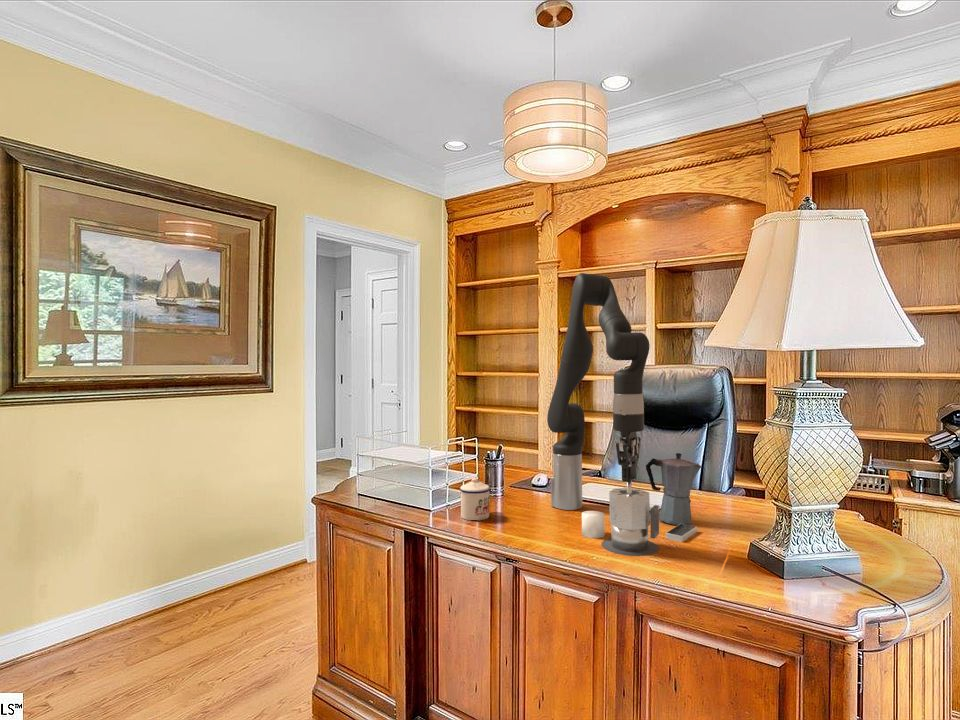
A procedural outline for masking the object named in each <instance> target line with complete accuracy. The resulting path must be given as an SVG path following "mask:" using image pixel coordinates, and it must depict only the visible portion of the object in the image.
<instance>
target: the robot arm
mask: <svg viewBox="0 0 960 720" xmlns="http://www.w3.org/2000/svg"><path fill="white" fill-rule="evenodd" d="M585 305H587V306H594V307H595V306H596V307H602V308H601V310H600V311H599V315H598V324H599V326H600V329H601V331H602V332H603V334H604V336H605V349H606V350H605V351H606V354H607V356H608V357H609V358H610V359H612V360H613V361H631V363H630V365H629V367H627V368H624V369H620V370H616V371H615V372H614V374H613V399H612V429H613V430H614V431H616V432H620V436H619V438H618V442H616V443H615V449H616V450H615V451H616V456H617V464H618V465H619V466H620V467H621V481H622V482H624V483H627V482H630V481H631V480H633V479H632V476H631V466H632V461H631V460H632V458H633V457H637V458H638V461H639V459H640V451H641V450H640V448H641V437H640V436H638V433H639V432H643V431H644V429H645V410H644V408H645V404H644V397H643V396H644V395H643V387H644V386H643V379H644V372H645V367H646V363H647V359H648V356H649V352H650V348H651V347H650V345H651V344H650V340H649V338H648V336H647V335H646V334H644V333H643V332H632V331H633V330H632V325H631V323H630V322H629V319H628V318H627V317H626V315H625V314H624V313H623V311H622V308H621V307H620V303H619V299H618V295H617V292H616V291H615V286H614V284H613V281H612V280H611V279H610V278H609V277H607V276H606V275H601V274H593V273H584V272H581V273H578V274H577V276H576V277H575V280H574V281H573V286H572V290H571V299H570V305H569V306H570V307H569V308H570V309H569V315H568V321H567V322H568V324H567V328H566V333H565V338H564V342H563V347H562V351H561V356H560V363H559V369H558V374H557V378H556V382H555V387H554V390H553V392H552V393H553V394H552V396H551V400H550V403H549V407H548V410H547V418H546V419H547V421H546V422H547V427H548V428H549V430H550V431H551V432H552V433H556V434H560V433H564V436H563V437H562V438H561V439H560V440H558V441H557V442H555V443H554V444H553V446H552V464H553V465H552V469H553V470H552V472H553V475H552V476H551V477H550V506H551V508H553V507H554V508H556V509H558V510H565V511H574V510H575V511H576V510H580V509H582V508H583V448H584V443H585V424H586V422H585V421H586V419H585V412H584V410H583V408H582V406H581V405H580V404H578V403H575V402H574V403H573V402H571V403H570V399H571V396H572V395H573V392H574V391H575V389H576V388H577V387H578V386H579V384H580V383H581V382H582V381H583V379H584V378H585V376H586V375H587V374H588V371H589V369H590V367H591V362H592V357H593V354H594V353H593V352H594V345H593V342H592V340H591V337H590V333H589V331H588V329H587V328H586V325H585V320H584V308H585V307H584V306H585ZM637 432H638V433H637ZM624 457H625V458H626V460H623V459H624ZM638 461H637V462H636V465H637V464H638Z"/></svg>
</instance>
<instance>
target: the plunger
mask: <svg viewBox="0 0 960 720" xmlns="http://www.w3.org/2000/svg"><path fill="white" fill-rule="evenodd" d="M623 460H626V458H625V457H624V459H623ZM631 461H632V466H631V476H632V480H636V479H637V478H638V477H637V476H638V475H637V464H636V462H637V463H638V462H639V460H638V458H637V457H633V458H632V460H631ZM632 480H631V481H630V482H626V488H627V495H632V488H633V487H632V485H633V484H632V483H633V482H632Z"/></svg>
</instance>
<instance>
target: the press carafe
mask: <svg viewBox="0 0 960 720" xmlns="http://www.w3.org/2000/svg"><path fill="white" fill-rule="evenodd" d="M608 494H609V500H608V501H609V524H610V525H611V529H610V531H611V532H610V533H611V535H610V536H611V537H610V538H611V545H612V547H614V548H615V549H618V550H621V551H626V552H642V551H646V550H647V549H648V548H649V543H648V541H649V526H650V539H656V538H657V537H658V536H659V534H660V519H659V515H660V507H659V505H657V504H654V505H653V506H652V507H651V508H650V491H649V492H648V491H646V490H644V489H641V488H633V487H632V495H627V487H620V488H613V489H611V490H610V491H609V493H608Z"/></svg>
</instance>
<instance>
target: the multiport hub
mask: <svg viewBox="0 0 960 720" xmlns="http://www.w3.org/2000/svg"><path fill="white" fill-rule="evenodd" d="M697 532H698V527H697V525H693V524H692V525H691V524H689V525H688V524H683V523H681V524H679V525H675V526H674V527H673V528H672V529H670V530H668V531H666V533H665V539H666V540H669V541H675V542H680V543H683V542H685V541H686V540H687V539H689V538H691V537H693V536H694V535H695V534H696V533H697Z"/></svg>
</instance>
